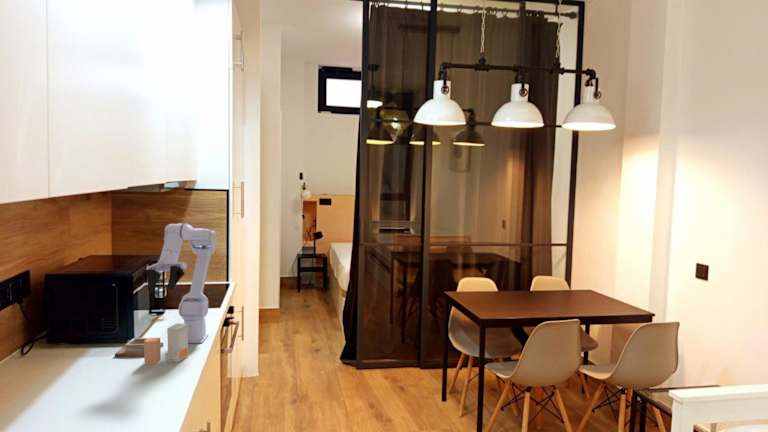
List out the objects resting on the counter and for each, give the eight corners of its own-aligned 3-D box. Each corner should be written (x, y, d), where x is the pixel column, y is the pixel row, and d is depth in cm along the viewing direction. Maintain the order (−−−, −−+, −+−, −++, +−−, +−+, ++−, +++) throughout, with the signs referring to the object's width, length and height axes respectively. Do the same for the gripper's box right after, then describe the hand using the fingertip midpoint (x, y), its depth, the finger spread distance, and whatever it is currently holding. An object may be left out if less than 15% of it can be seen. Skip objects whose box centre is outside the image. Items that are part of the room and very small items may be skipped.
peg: (149, 359, 180) (148, 337, 179) (160, 359, 180) (160, 337, 179) (144, 364, 176) (143, 341, 175) (156, 364, 176) (155, 341, 176)
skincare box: (178, 362, 177) (177, 329, 176) (167, 361, 178) (166, 328, 177) (188, 356, 183) (187, 323, 182) (178, 355, 184) (177, 323, 183)
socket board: (127, 346, 193) (127, 336, 193) (163, 345, 194) (162, 336, 194) (114, 357, 182) (114, 347, 182) (152, 356, 183) (152, 346, 183)
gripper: (145, 250, 177) (133, 286, 169) (182, 246, 174) (172, 282, 166) (157, 260, 183) (147, 295, 175) (193, 256, 179) (184, 291, 172)
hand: (160, 290), depth 171 cm, fingers open, 7 cm apart
